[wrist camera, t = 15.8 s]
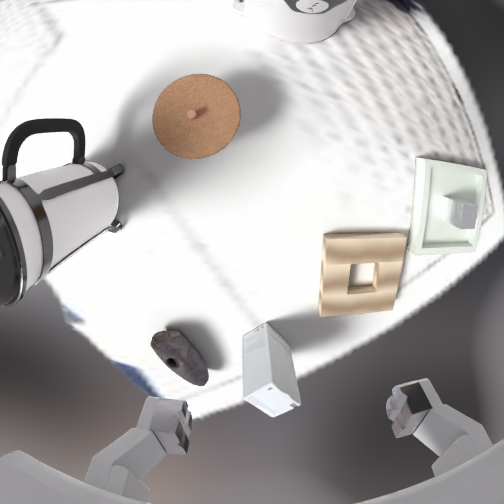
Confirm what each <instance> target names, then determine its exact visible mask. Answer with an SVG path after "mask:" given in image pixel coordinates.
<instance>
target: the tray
mask: <svg viewBox="0 0 504 504" xmlns="http://www.w3.org/2000/svg"><path fill="white" fill-rule="evenodd" d="M486 177H487V170H484V169H481V168H476V167H472V166H467V165H461V164H456V163H450V162H444V161H438V160H432V159H425V158H417V157H416V160H415V182H414V195H413V206H412V216H411V224H410V232H409V239H408V245H407V249H408V250H409V251H410V252H412V253H413V254H414V255H430V254H448V253H465V252H475V251H476V246H477V242H478V237H479V231H480V226H481V220H482V213H483V206H484V198H485V189H486ZM442 196H448V197H458V198H461V199H463V200H466V201H468V202H470V203H473V204H475V205H477V206H478V211H477V218H476V224H475V229H459V228H457V227H455V226H453V225H452V224H450V223H448V222H446V221H444V220H442V219H440V214H441V206H442Z"/></svg>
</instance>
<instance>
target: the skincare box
mask: <svg viewBox="0 0 504 504" xmlns="http://www.w3.org/2000/svg"><path fill="white" fill-rule="evenodd" d="M242 366H243V398H244V399H245V400H246V401H248V402H249V403H251V404H253V405H254V406H256V407H257V408H259V409H260V410H262V411H263V412H265V413H266V414H268V415H269V416H271V417H275V416H278V415H280V414H282V413H284V412H286V411H289V410H291V409H293V408H295V407H297V406H299V405H301V400H300V395H299V390H298V385H297V380H296V375H295V370H294V365H293V360H292V355H291V349H290V346H289V345H288V343H287V342H286V341H285V340H284V339H283V338H282V337H281V336H280V335H279V334H278V333H277V332H276V331H275V330H274V329H273V328H272V327H270V325H269V324H268V323H267V322H266V323H264V324H262V325H261V326H259V327H258V328H256V329H254V330H252V331H250V332H248V333H247V334H245V335H243V337H242Z"/></svg>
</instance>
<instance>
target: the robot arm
mask: <svg viewBox="0 0 504 504" xmlns="http://www.w3.org/2000/svg"><path fill="white" fill-rule="evenodd" d="M240 1H241V0H234V2H233V11H234V12H236V13H237V14H239V15H242V16H244V17H247V18H249V19H250V20H251V21H252V22H253V23H254V24H255V25H256V26H257V27H258V28H260V29H261V30H262V31H263V32H265V33H266V34H268V35H270V36H272V37H274V38H276V39H279V40H282V41H285V42H290V43H297V44H308V43H315V42H319V41H322V40H324V39H326V38H328V37H330V36H331V35H332V34H334V33H335V32H336V30H337V29H338V28H339V26H340V25H341V24H342V23H345V22H347V21H349V20H351V19H353V18H354V16H355V10H354V7H353V6H354V4H355V2H356V1H357V0H243V1H244V2H240ZM392 392H393V395H392V396H391V397H389V399H388V401H387V405H386V410H387V415H388V418H389V419H391V420H392V421H393V424H392V428H393V431H394V434H395V437H396V438H399V437H403V436H406V435H410V434H413V433H414V434H413V435H414V436H416V437H417V438H418V439H419V440H421V441H422V442H423V443H424V444H425V445H426V446H428V447H429V448H430V449H431V450H432V451H434V452H435V453H436V454H437V455H438V456H440V458H438V459H437V460H436V461H435V462H434V463H433V465H432V469H433V472H434V475H435V477H434V478H431V479H429V480H427V481H424V482H422V483H419V484H417V485H414V486H412V487H409V488H406V489H403V490H400V491H398V492H395V493H391V494H389V495H385V496H382V497H378V498H375V499H371V500H367V501H363V502H359V503H355V504H504V439H502V440H501V441H499V442H498V443H496V444H495V445H492V443H491V441H490V439H489V437H488V435H487V433H486V431H485V430H484V428H483V426H482V425H481V424H480V423H478V422H476V421H474V420H472V419H470V418H469V417H467V416H465V415H463V414H462V413H460V412H458V411H457V410H455V409H453V408H452V407H450V406H448V405H446V404H444V405H443V404H442V402H441V400H440V399H439V397H438V395H437V393H436V392H435V390H434V388H433V386H432V384H431V383H430V381H429V380H428V379H427V378H424V379H421V380H417V381H412V382H409V383H405V384H401V385H397V386H395V387H394V388H393V390H392ZM187 408H188V404H187V402H186V401H183V400H173V399H165V398H158V397H150V396H149V397H148V398H147V399H146V401H145V404H144V407H143V409H142V412H141V415H140V418H139V421H138V424H137V427H136V428H132V429H130V430H129V431H128V432H126V433H125V434H124V435H123V436H121V437H120V438H118V439H117V440H116V441H114V442H113V443H111V444H110V445H109V446H107V447H106V448H104V449H103V450H102V451H100V452H99V453H97V454H96V455H95V456H93V458H92V461H91V464H90V466H89V469H88V471H87V474H86V477H85V479H84V482H82V481H79V480H77V479H75V478H73V477H70V476H68V475H66V474H64V473H62V472H59V471H57V470H55V469H53V468H51V467H49V466H47V465H45V464H43V463H42V462H40V461H38V460H36V459H34V458H33V457H31V456H29V455H27V454H26V453H24V452H22V451H14V452H11V453H9V454H6V455H4V456H2V457H0V504H152V503H148V499H149V495H150V490H149V488H148V487H147V486H145V485H144V484H143V483H142V482H141V481H140V480H141V479H142V478H143V477H144V476H145V475H146V474H147V473H148V472H149V471H150V470H151V469H152V468H153V467H154V466H155V465H156V464H157V463H158V462H159V461H160V460H161V459H162V458H163V457H164V456H165V455H166V454H167V453H173V454H183V455H187V452H188V447H189V439H188V437H187V436H188V435H189V434H190V433H191V431H192V415H191V412H190V411H188V410H187Z"/></svg>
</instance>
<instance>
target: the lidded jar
mask: <svg viewBox="0 0 504 504" xmlns="http://www.w3.org/2000/svg"><path fill="white" fill-rule="evenodd" d="M240 115H241V111H240V105H239V101H238V98H237V97H236V95H235V93H234V91H233V90H232V89H231V87H230V86H229V85H227V84H226V83H225V82H224V81H222V80H221V79H219V78H216V77H214V76H211V75H206V74H193V75H188V76H185V77H182V78H180V79H178V80H176V81H174V82H173V83H171V84H170V85H169V86H168V87H167V88H166V89H165V90H164V91H163V92H162V93H161V95H160V96H159V98H158V100H157V101H156V104H155V107H154V110H153V120H152V122H153V129H154V132H155V135H156V137H157V139H158V140H159V142H160V143H161V145H162V146H163V147H164V148H165V149H166V150H168V151H169V152H171V153H172V154H174V155H176V156H179V157H182V158H188V159H199V158H205V157H208V156H211V155H213V154H215V153H217V152H219V151H220V150H222V149H223V148H224V147H225V146H227V145H228V144H229V143H230V141H231V140H232V139H233V137H234V136H235V134H236V132H237V130H238V127H239V123H240Z"/></svg>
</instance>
